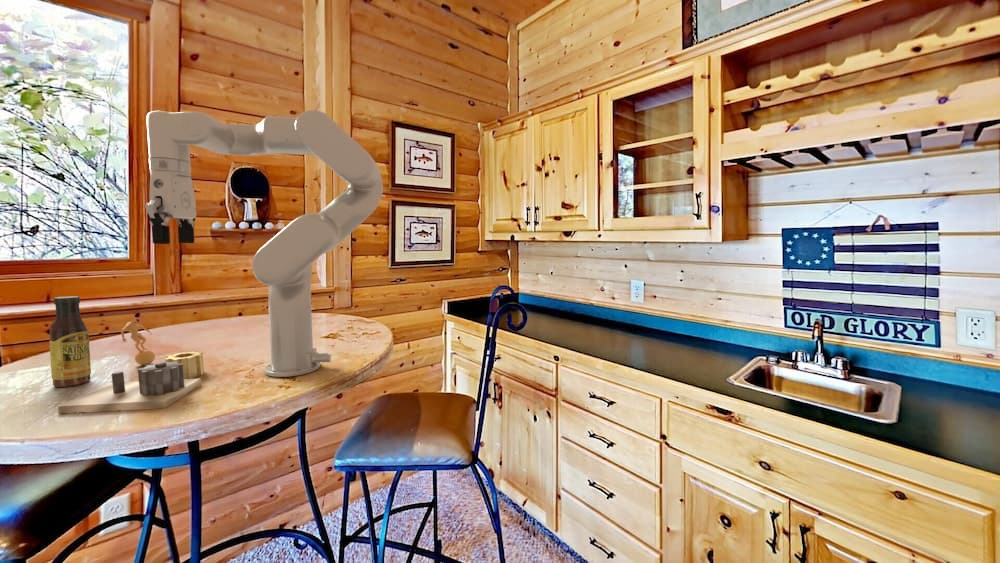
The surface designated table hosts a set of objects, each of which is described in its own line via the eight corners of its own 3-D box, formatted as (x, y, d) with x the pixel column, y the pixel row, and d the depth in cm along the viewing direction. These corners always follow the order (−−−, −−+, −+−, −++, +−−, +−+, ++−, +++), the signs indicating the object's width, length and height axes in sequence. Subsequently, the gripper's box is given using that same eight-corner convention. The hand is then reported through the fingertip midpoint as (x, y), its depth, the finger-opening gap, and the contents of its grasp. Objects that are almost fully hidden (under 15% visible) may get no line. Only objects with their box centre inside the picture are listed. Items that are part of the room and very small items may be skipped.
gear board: (201, 384, 94) (198, 354, 94) (165, 407, 82) (162, 372, 81) (110, 389, 91) (107, 357, 91) (58, 414, 79) (54, 377, 78)
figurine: (139, 370, 105) (135, 323, 103) (115, 369, 105) (111, 322, 103) (165, 360, 113) (162, 316, 112) (143, 360, 113) (139, 316, 112)
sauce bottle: (67, 389, 91) (57, 299, 89) (44, 387, 92) (34, 298, 90) (100, 379, 98) (92, 295, 96) (79, 377, 99) (70, 294, 97)
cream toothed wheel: (209, 370, 105) (208, 350, 104) (194, 379, 98) (192, 359, 97) (177, 371, 103) (176, 351, 103) (159, 381, 96) (157, 360, 96)
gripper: (165, 163, 88) (170, 244, 90) (208, 175, 105) (211, 243, 107) (125, 161, 87) (130, 243, 89) (175, 173, 104) (178, 242, 106)
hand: (174, 243), depth 98 cm, fingers open, 9 cm apart
